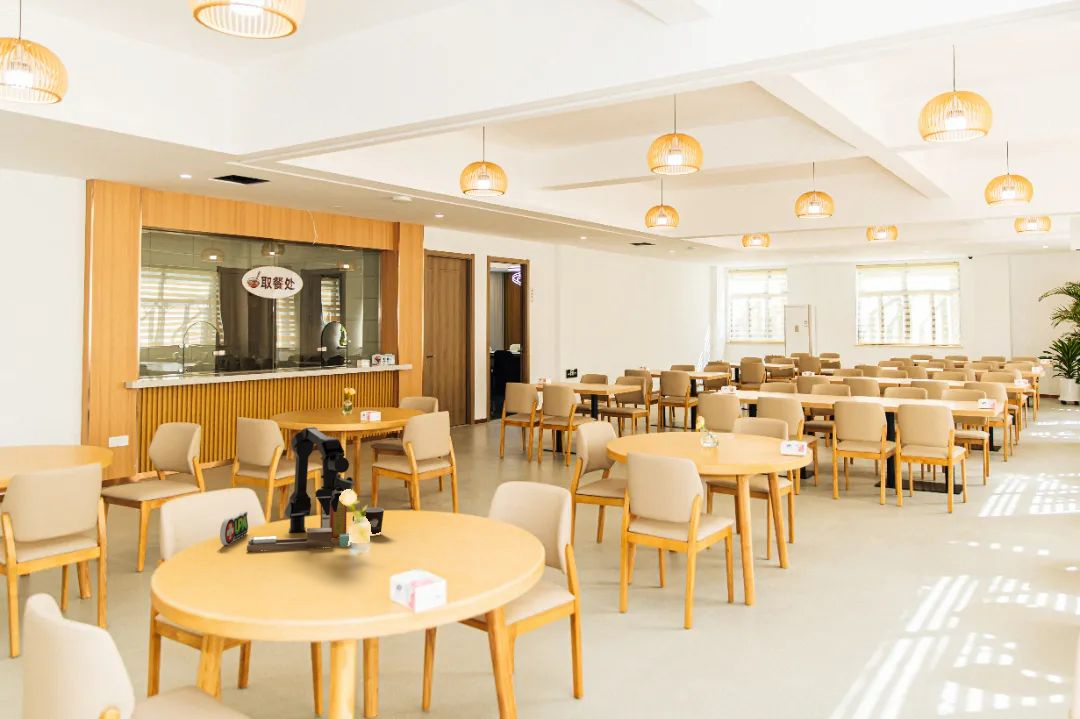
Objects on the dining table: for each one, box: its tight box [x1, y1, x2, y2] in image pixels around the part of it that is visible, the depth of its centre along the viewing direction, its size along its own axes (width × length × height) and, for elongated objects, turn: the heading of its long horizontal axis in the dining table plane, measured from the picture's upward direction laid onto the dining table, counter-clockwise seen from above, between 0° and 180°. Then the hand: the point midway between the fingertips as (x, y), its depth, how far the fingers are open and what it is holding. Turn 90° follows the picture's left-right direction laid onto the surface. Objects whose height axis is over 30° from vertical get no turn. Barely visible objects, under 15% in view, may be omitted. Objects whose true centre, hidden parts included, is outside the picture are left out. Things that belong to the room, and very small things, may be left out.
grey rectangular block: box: [249, 535, 278, 545], centre depth 290 cm, size 4×9×4 cm, turn 106°
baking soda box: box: [320, 501, 348, 539], centre depth 312 cm, size 10×6×16 cm
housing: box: [246, 527, 333, 552], centre depth 293 cm, size 7×30×6 cm, turn 106°
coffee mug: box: [352, 507, 385, 534], centre depth 315 cm, size 12×9×10 cm
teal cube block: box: [338, 533, 349, 547], centre depth 298 cm, size 4×4×4 cm
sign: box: [219, 511, 249, 546], centre depth 302 cm, size 22×2×10 cm, turn 179°
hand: (331, 513), depth 293 cm, fingers open, 9 cm apart
